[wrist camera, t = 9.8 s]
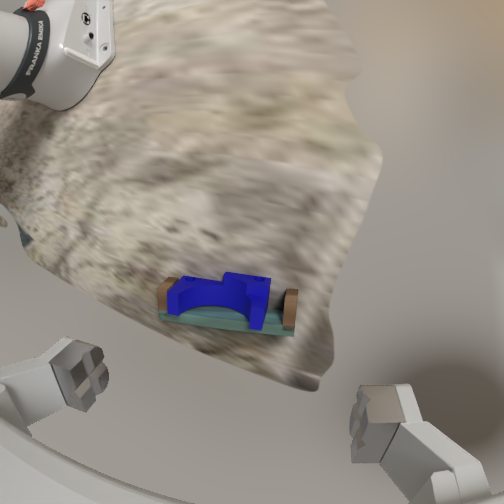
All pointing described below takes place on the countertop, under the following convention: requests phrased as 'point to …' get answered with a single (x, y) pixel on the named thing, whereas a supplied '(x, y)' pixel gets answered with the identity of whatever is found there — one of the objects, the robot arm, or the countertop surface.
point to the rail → (231, 314)
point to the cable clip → (223, 295)
